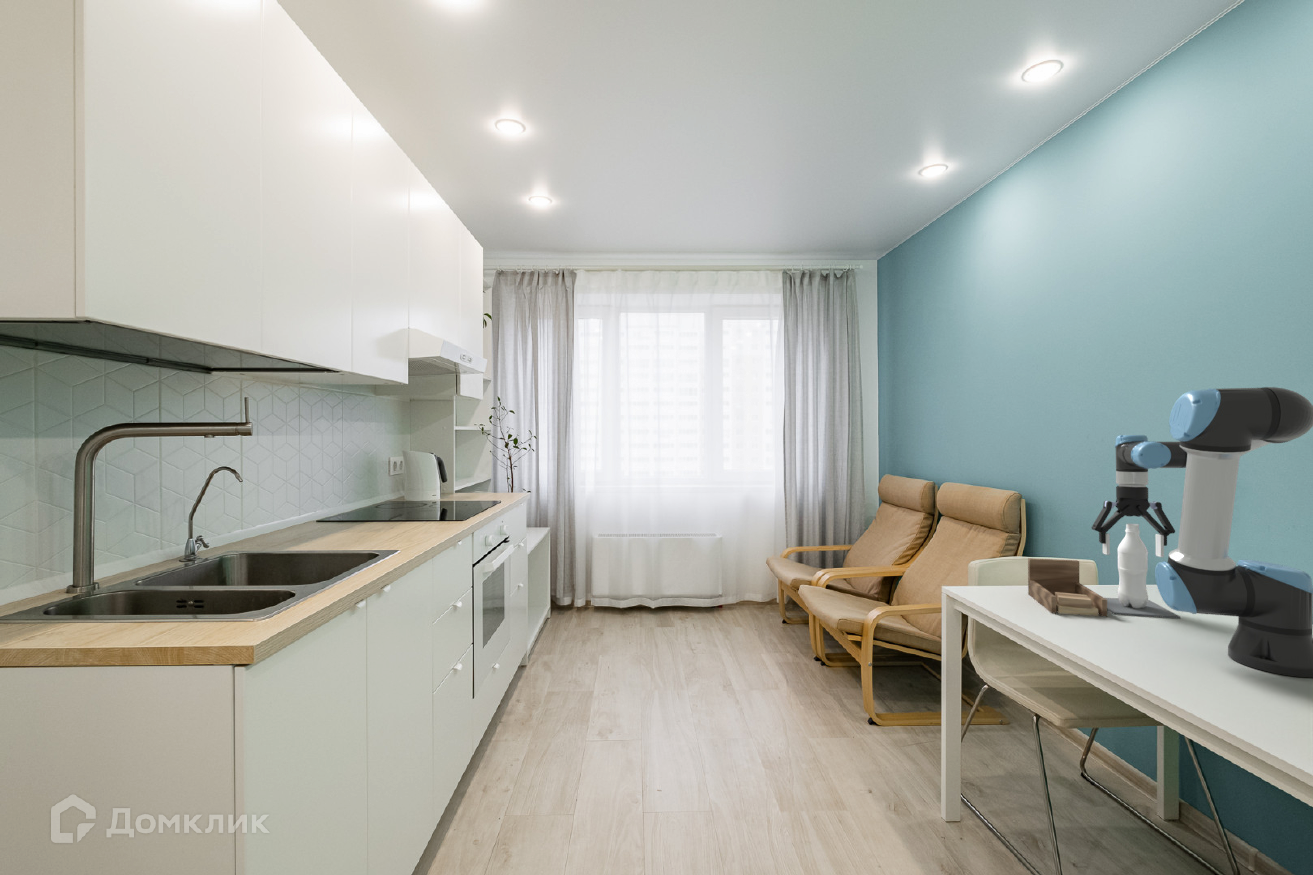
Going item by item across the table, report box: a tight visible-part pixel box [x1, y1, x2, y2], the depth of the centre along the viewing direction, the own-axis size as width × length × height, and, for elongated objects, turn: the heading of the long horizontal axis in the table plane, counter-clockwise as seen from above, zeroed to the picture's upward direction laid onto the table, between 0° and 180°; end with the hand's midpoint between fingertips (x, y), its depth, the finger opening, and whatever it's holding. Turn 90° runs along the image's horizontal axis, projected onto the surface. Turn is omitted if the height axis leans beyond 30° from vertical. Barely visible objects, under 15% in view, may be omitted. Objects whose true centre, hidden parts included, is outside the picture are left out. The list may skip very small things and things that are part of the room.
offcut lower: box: [1056, 602, 1099, 617], centre depth 171 cm, size 7×10×2 cm
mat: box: [1104, 597, 1181, 620], centre depth 172 cm, size 16×16×1 cm
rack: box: [1027, 557, 1108, 617], centre depth 176 cm, size 20×14×12 cm
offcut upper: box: [1055, 592, 1092, 609], centre depth 171 cm, size 6×8×2 cm
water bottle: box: [1116, 523, 1149, 609], centre depth 172 cm, size 7×7×25 cm
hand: (1132, 555), depth 172 cm, fingers open, 13 cm apart
